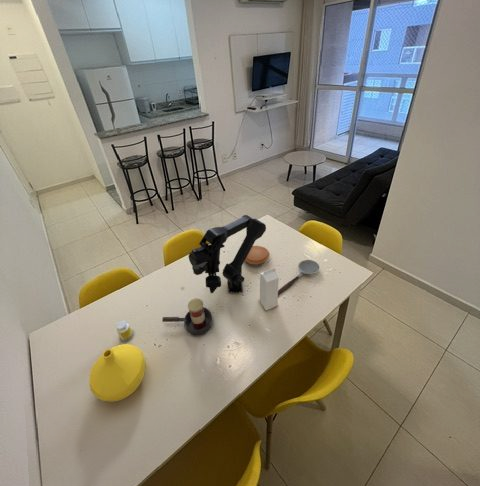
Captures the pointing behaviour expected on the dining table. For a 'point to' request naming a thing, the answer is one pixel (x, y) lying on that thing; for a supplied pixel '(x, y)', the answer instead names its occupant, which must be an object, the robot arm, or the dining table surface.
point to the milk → (269, 288)
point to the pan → (203, 330)
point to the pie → (257, 255)
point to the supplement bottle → (124, 330)
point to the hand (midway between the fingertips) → (210, 285)
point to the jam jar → (197, 313)
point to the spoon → (302, 272)
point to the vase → (117, 372)
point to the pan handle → (172, 319)
